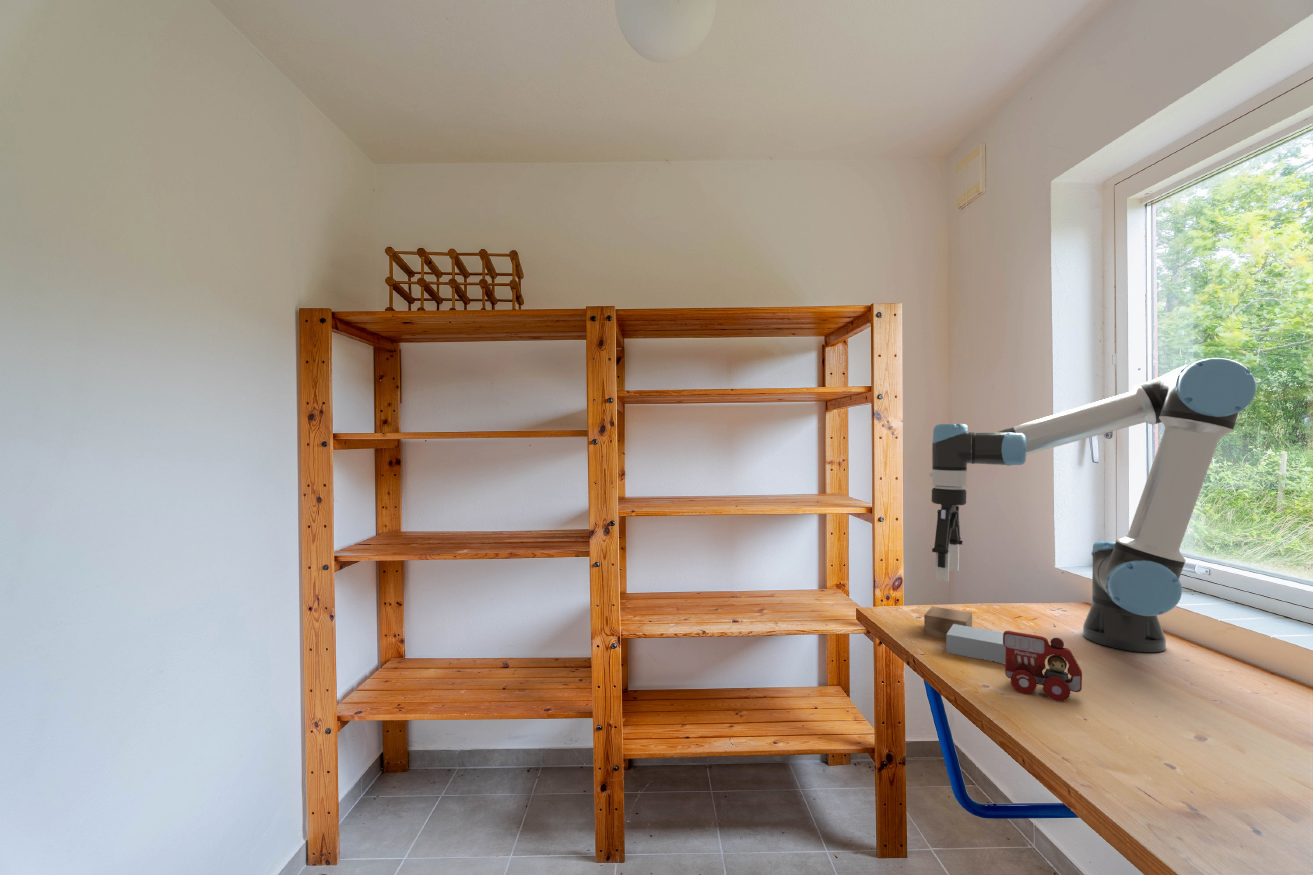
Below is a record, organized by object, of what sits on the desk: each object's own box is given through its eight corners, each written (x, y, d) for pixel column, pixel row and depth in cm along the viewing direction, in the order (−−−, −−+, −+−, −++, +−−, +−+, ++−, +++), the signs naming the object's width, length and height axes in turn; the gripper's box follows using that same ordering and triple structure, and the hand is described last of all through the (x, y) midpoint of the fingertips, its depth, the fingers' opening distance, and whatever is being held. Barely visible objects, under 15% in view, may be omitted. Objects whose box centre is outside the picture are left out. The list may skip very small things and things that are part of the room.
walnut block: (972, 633, 144) (972, 612, 144) (966, 643, 137) (966, 621, 137) (931, 626, 149) (932, 606, 149) (924, 635, 142) (924, 614, 142)
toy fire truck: (1082, 707, 104) (1082, 647, 104) (1001, 690, 111) (1001, 634, 111) (1081, 693, 110) (1081, 636, 110) (1003, 677, 117) (1004, 624, 117)
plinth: (1035, 656, 128) (1035, 637, 128) (1032, 669, 121) (1032, 649, 121) (953, 641, 138) (953, 623, 138) (946, 652, 130) (946, 634, 130)
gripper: (941, 483, 156) (940, 564, 156) (920, 490, 135) (919, 582, 135) (974, 485, 151) (972, 568, 151) (957, 492, 131) (955, 588, 131)
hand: (947, 575), depth 143 cm, fingers open, 13 cm apart
